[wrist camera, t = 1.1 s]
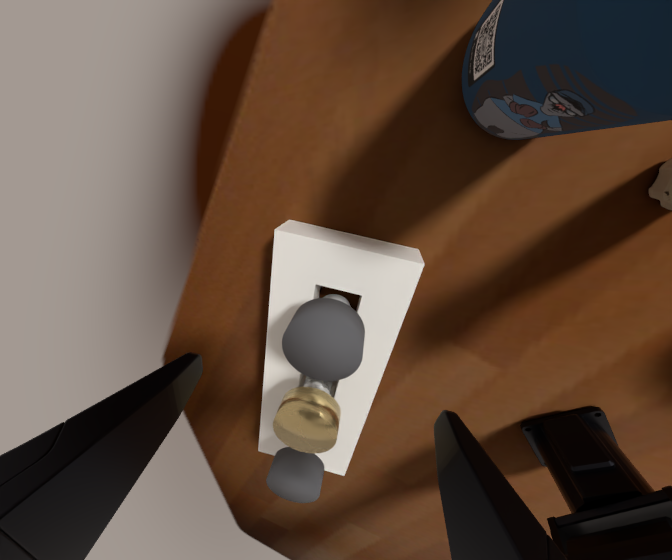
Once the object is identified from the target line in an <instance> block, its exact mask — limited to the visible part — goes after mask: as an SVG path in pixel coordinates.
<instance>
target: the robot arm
mask: <svg viewBox="0 0 672 560" xmlns="http://www.w3.org/2000/svg"><path fill="white" fill-rule="evenodd" d="M202 371H203V367H202V357H201V355H200V354H197V353H192V352H189V353H186V354H185V355H183V356H181V357H179V358H177V359H176V360H174V361H172V362H170V363H168V364H167V365H165V366H163V367H161V368H159V369H158V370H156V371H154V372H152V373H151V374H149V375H147V376H145V377H143V378H141V379H140V380H138V381H136V382H134V383H133V384H131V385H129V386H127V387H125V388H123V389H122V390H120V391H118V392H116V393H115V394H113V395H111V396H109V397H107V398H106V399H104V400H102V401H101V402H98V403H97V404H95V405H93V406H91V407H89V408H88V409H86V410H84V411H82V412H80V413H79V414H77V415H75V416H73V417H71V418H70V419H68V420H66V422H65V423H64V422H63V423H60V424H59V425H57V426H55V427H53V428H51V429H50V430H48V431H46V432H44V433H42V434H41V435H39V436H37V437H35V438H33V439H31V440H29V441H28V442H26V443H24V444H22V445H20V446H18V447H16V448H14V449H12V450H10V451H8V452H6V453H4V454H2V455H1V456H0V560H84V559H85V558H86V556H87V555H88V553H89V552H90V550H91V549H92V547H93V546H94V544H95V542H96V541H97V540H98V538H99V537H100V535H101V534H102V532H103V531H104V529H105V528H106V526H107V524H108V523H109V522H110V520H111V519H112V517H113V516H114V514H115V513H116V511H117V510H118V508H119V507H120V505H121V503H122V502H123V501H124V499H125V498H126V496H127V495H128V493H129V492H130V490H131V489H132V487H133V486H134V484H135V483H136V481H137V480H138V478H139V476H140V475H141V473H142V472H143V471H144V469H145V467H146V466H147V464H148V463H149V461H150V460H151V458H152V457H153V455H154V454H155V452H156V451H157V449H158V448H159V446H160V445H161V443H162V442H163V440H164V439H165V437H166V436H167V434H168V433H169V431H170V430H171V428H172V427H173V425H174V424H175V422H176V421H177V419H178V418H179V416H180V414H181V412H182V411H183V409H184V407H185V405H186V403H187V401H188V399H189V398H190V396H191V394H192V392H193V390H194V388H195V386H196V384H197V383H198V381H199V379H200V377H201V375H202ZM520 427H521V429H522V431H523V433H524V435H525V436H526V438H527V440H528V442H529V443H530V445H531V447H532V449H533V450H534V452H535V454H536V456H537V457H538V459H539V461H540V463H541V464H542V465H543V466H546V467H547V468H548V469H549V471H550V473H551V475H552V477H553V479H554V481H555V483H556V485H557V486H558V488H559V490H560V492H561V494H562V496H563V498H564V500H565V501H566V503H567V505H568V507H569V509H570V511H571V513H572V514H568V515H564V516H560V517H557V518H555V517H550V518H547V521H548V524H549V527H550V530H551V531H550V532H551V536H552V539H553V540H552V539H551V538H550V536H549V535H547V534H546V531H545V530H544V528H543V527H542V526H541V524H540V523H539V522H538V521H537V519H536V518H535V517H534V515H533V514H532V513H531V511H530V510H529V509H528V507H527V506H526V505H525V503H524V502H523V501H522V499H521V498H520V497H519V495H518V494H517V493H516V492H515V490H514V489H513V488H512V486H511V485H510V484H509V482H508V481H507V480H506V478H505V477H504V476H503V474H502V473H501V472H500V470H499V469H498V468H497V466H496V465H495V464H494V462H493V461H492V460H491V459H490V457H489V456H488V455H487V453H486V452H485V451H484V449H483V448H482V447H481V445H480V444H479V443H478V441H477V440H476V439H475V437H474V436H473V435H472V433H471V432H470V431H469V429H468V428H467V427H466V426H465V424H464V423H463V422H462V420H461V419H460V418H459V416H458V415H457V414H456V413H455V412H452V411H447V410H443V411H442V412H441V414H440V415H439V417H438V419H437V420H436V422H435V424H434V438H435V451H436V464H437V475H438V482H439V488H440V494H441V500H442V506H443V512H444V517H445V523H446V529H447V535H448V540H449V546H450V552H451V558H452V560H672V486H667V487H663V488H662V490H659V491H654V490H653V489H652V487H651V486H650V485H649V484H648V483H647V481H646V480H645V479H644V478H643V476H642V475H641V474H640V473H639V471H638V470H637V469H636V468H635V467H634V465H633V464H632V463H631V462H630V460H629V459H628V458H627V457H626V456H625V454H624V453H623V452H622V451H621V449H620V448H619V447H618V444H617V442H616V439H615V437H614V435H613V432H612V430H611V427H610V425H609V422H608V420H607V418H606V415H605V413H604V412H603V411H602V410H601V408H599V407H591V408H586V409H582V410H577V411H573V412H568V413H564V414H559V415H555V416H551V417H546V418H542V419H537V420H533V421H528V422H524V423H522V424H521V425H520Z"/></svg>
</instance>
